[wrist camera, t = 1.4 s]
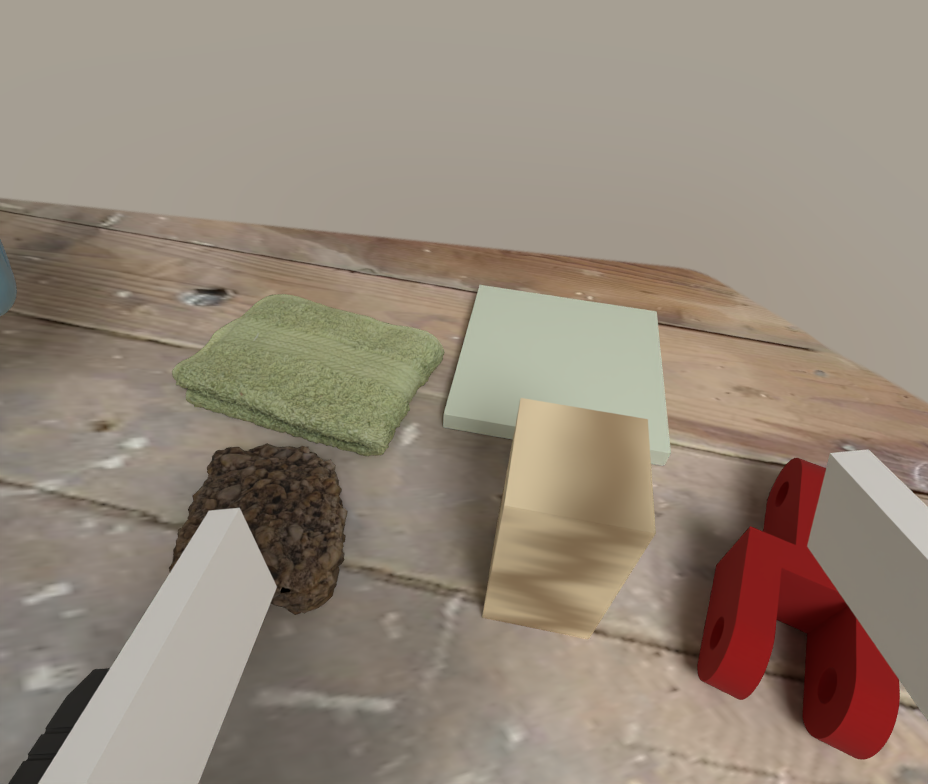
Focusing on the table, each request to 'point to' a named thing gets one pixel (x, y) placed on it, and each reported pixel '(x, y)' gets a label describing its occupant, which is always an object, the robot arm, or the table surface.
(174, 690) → the robot arm
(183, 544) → the brown rock
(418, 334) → the washcloth
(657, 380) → the sage board
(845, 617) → the mechanical linkage
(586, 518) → the beech block
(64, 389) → the table surface
